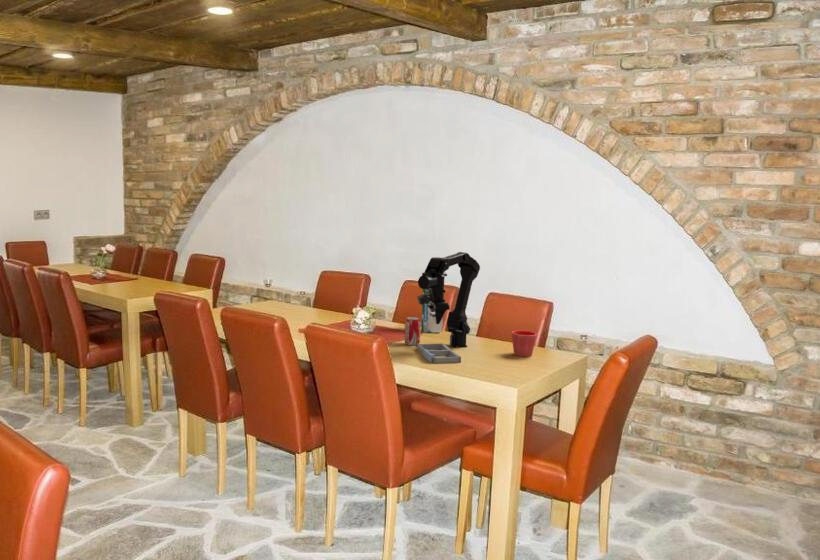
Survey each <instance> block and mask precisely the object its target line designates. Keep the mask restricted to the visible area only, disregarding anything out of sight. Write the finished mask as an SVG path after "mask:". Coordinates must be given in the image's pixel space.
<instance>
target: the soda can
mask: <svg viewBox="0 0 820 560" xmlns="http://www.w3.org/2000/svg"><path fill="white" fill-rule="evenodd" d="M404 323H405V324H404V344H406V345H407V344H408V346H417V344H421V330H422V322H421V321H420V318H419V317H415V316H408V317H406V320H405V322H404Z"/></svg>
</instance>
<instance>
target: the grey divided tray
mask: <svg viewBox="0 0 820 560" xmlns="http://www.w3.org/2000/svg"><path fill="white" fill-rule="evenodd" d="M417 349H418V350H419V351H420V352H419V351H418V350H417ZM441 349H442V350H441ZM416 350H417V351H418V352H419V353H420V354H421V355H423V358H425V360H426V361H428V362H429V363H431V364H453V363H452V362H460V363H462V357H461V356H460V355H459V354H458V353H456V352H455V351H453V350H452V349H451V348H450V347H448V346H447V345H446V344H445V343H419V344H417V345H416ZM441 355H450V356H451V357H450V356H441Z"/></svg>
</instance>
